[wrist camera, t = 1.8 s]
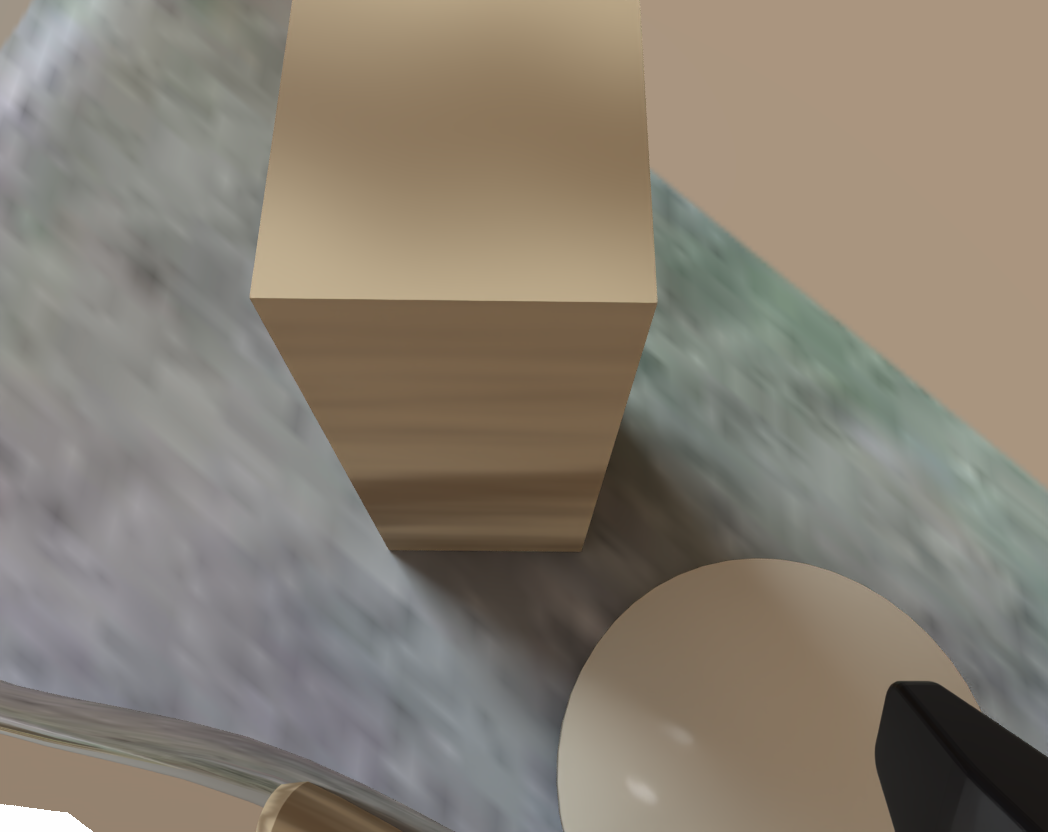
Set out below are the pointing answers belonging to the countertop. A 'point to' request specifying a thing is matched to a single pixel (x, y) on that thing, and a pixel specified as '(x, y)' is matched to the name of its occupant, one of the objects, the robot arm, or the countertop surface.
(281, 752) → the beer glass
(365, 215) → the wooden block
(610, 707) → the saucer
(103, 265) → the countertop surface
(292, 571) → the countertop surface
